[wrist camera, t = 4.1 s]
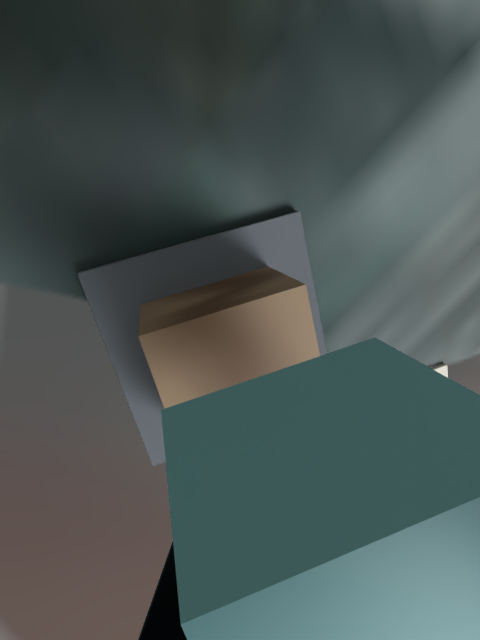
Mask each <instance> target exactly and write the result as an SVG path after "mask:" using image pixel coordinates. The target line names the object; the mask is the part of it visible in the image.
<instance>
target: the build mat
mask: <svg viewBox="0 0 480 640" xmlns="http://www.w3.org/2000/svg"><path fill="white" fill-rule="evenodd" d="M268 266H269V267H271V268H273V269H275V270H277V271H279V272H281V273H283V274H285V275H287V276H289V277H291V278H294V279H296V280H298V281H300V282H302V283H304V284H306V288H307V293H308V298H309V303H310V308H311V313H312V318H313V323H314V328H315V333H316V338H317V343H318V348H319V353H320V356H322V355H325V354H327V350H326V344H325V339H324V334H323V329H322V323H321V318H320V313H319V308H318V302H317V297H316V292H315V287H314V281H313V276H312V271H311V266H310V260H309V255H308V250H307V245H306V239H305V234H304V229H303V224H302V218H301V213H300V211H295V212H292V213H288V214H284V215H281V216H277V217H274V218H270V219H267V220H263V221H259V222H256V223H252V224H249V225H245V226H242V227H238V228H234V229H231V230H227V231H224V232H220V233H217V234H213V235H209V236H206V237H202V238H199V239H195V240H192V241H188V242H184V243H181V244H177V245H174V246H170V247H167V248H163V249H159V250H156V251H152V252H149V253H145V254H142V255H138V256H134V257H131V258H127V259H124V260H120V261H117V262H113V263H109V264H106V265H102V266H99V267H95V268H92V269H88V270H84V271H81V272H79V273H78V274H77V275H78V277H79V280H80V282H81V285H82V287H83V290H84V293H85V295H86V298H87V300H88V303H89V305H90V308H91V310H92V313H93V315H94V318H95V321H96V323H97V325H98V328H99V331H100V333H101V336H102V338H103V341H104V343H105V346H106V349H107V351H108V354H109V356H110V358H111V361H112V364H113V366H114V369H115V371H116V374H117V376H118V379H119V382H120V384H121V387H122V389H123V392H124V394H125V397H126V399H127V402H128V405H129V407H130V409H131V412H132V414H133V417H134V420H135V422H136V425H137V427H138V430H139V432H140V435H141V438H142V440H143V443H144V445H145V448H146V450H147V453H148V455H149V458H150V461H151V463H152V465H153V466H155V465H158V464H160V463H163V462H166V460H165V449H164V438H163V428H162V417H161V410H162V409H164V406H163V403H162V401H161V398H160V395H159V392H158V389H157V387H156V384H155V381H154V378H153V376H152V373H151V370H150V367H149V364H148V362H147V359H146V356H145V353H144V350H143V348H142V345H141V342H140V339H139V337H138V335H139V317H140V305H141V304H144V303H147V302H151V301H154V300H157V299H161V298H164V297H167V296H171V295H174V294H177V293H181V292H184V291H187V290H191V289H194V288H198V287H201V286H204V285H208V284H211V283H214V282H218V281H221V280H224V279H228V278H231V277H234V276H238V275H241V274H244V273H248V272H251V271H254V270H258V269H261V268H265V267H268Z"/></svg>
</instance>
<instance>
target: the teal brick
mask: <svg viewBox="0 0 480 640" xmlns="http://www.w3.org/2000/svg"><path fill="white" fill-rule="evenodd" d="M161 417H162V428H163V438H164V449H165V460H166V471H167V481H168V492H169V503H170V514H171V525H172V536H173V546H174V557H175V568H176V579H177V590H178V600H179V611H180V622H181V626H182V629H183V631H184V634H185V636H186V638H187V640H480V395H478V394H476V393H475V392H473V391H471V390H469V389H467V388H466V387H464V386H462V385H460V384H458V383H456V382H455V381H453V380H451V379H449V378H447V377H446V376H444V375H442V374H440V373H438V372H437V371H435V370H433V369H431V368H429V367H427V366H426V365H424V364H422V363H420V362H418V361H417V360H415V359H413V358H411V357H409V356H407V355H406V354H404V353H402V352H400V351H398V350H397V349H395V348H393V347H391V346H389V345H388V344H386V343H384V342H382V341H380V340H378V339H377V338H372V339H370V340H367V341H364V342H361V343H358V344H355V345H352V346H349V347H346V348H343V349H340V350H337V351H334V352H331V353H328V354H325V355H322V356H319V357H316V358H313V359H310V360H307V361H304V362H301V363H298V364H295V365H292V366H289V367H287V368H284V369H281V370H278V371H275V372H272V373H269V374H266V375H263V376H260V377H257V378H254V379H251V380H248V381H245V382H242V383H239V384H236V385H233V386H230V387H227V388H224V389H221V390H218V391H215V392H212V393H209V394H206V395H204V396H201V397H198V398H195V399H192V400H189V401H186V402H183V403H180V404H177V405H174V406H171V407H168V408H165V409H162V410H161Z"/></svg>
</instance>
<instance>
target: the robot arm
mask: <svg viewBox="0 0 480 640" xmlns="http://www.w3.org/2000/svg"><path fill="white" fill-rule="evenodd" d="M138 640H187V638H186V636H185V634H184V631H183V629H182V626H181V622H180V611H179V600H178V590H177V579H176V568H175V557H174V546H173V542H172V545H171V548H170V550H169V554H168V556H167V559H166V562H165V565H164V568H163V571H162V573H161V576H160V579H159V582H158V585H157V588H156V590H155V593H154V597H153V600H152V602H151V605H150V608H149V611H148V614H147V616H146V619H145V622H144V625H143V628H142V631H141V634H140V636H139V639H138Z"/></svg>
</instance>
